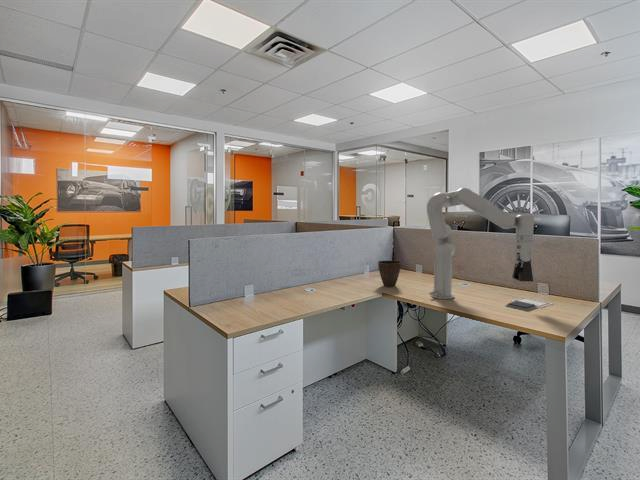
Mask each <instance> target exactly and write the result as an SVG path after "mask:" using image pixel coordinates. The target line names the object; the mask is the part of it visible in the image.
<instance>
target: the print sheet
mask: <svg viewBox="0 0 640 480" xmlns="http://www.w3.org/2000/svg"><path fill="white" fill-rule="evenodd" d="M515 301H521V302H525V303H530V304H535V305H536V306H537V309H538V308H539V309H543V308H545V307H548V306H551V305H553V303H552V302H548V301H542V300H537V299H533V298H532V299H531V298H527V297H519V298H517V299H512V300H510V303H511V302H515Z"/></svg>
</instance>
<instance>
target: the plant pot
mask: <svg viewBox="0 0 640 480" xmlns="http://www.w3.org/2000/svg"><path fill="white" fill-rule="evenodd" d="M377 264H378V270H379V276H380V278H381V281H382V285H383V286H384V287H387V288H394V287H396V284H397V282H398V278H399V275H400V271H401V264H402V262H401V261H398V260H379V261H378V262H377Z"/></svg>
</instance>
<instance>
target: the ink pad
mask: <svg viewBox="0 0 640 480" xmlns="http://www.w3.org/2000/svg"><path fill="white" fill-rule="evenodd" d="M506 307H507V308H508V307H509V308H513V309H517V310H521V311H525V312H529V311H531V310H534V309H538V307H537V306H536V305H535V304H530V303H525V302H521V301H515V302H511V301H510V302H509V303H507V304H506Z"/></svg>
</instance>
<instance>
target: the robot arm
mask: <svg viewBox="0 0 640 480" xmlns="http://www.w3.org/2000/svg"><path fill="white" fill-rule="evenodd" d="M461 205H463V206H464V207H466V208H468V209H470V210H471V211H473V212H474V213H476V214H478V215H479V216H481V217H483V219H486V220H487V221H490V222H491V223H493V224H494V225H496V226H498V228H501V229H504V230H509V229H513V228H515V249H514V265H515V264H516V275H518V274H519V271H520V272H522V274H523V262H528V261H530V259H531V262H532V261H534V243H533V242H534V226H535V216H534V214H531V213H530V214H525V213H524V214H512V213H511V214H510V213H508V212H506V211H504V210H502V209H501V208H499V207H497V206H496V205H494V204H493V203H492V202H491V201H490V200H488V199H487V198H485V197H483V196H481V195H480V194H478V193H476V192H474V191H473V190H471V189H470V188H467V187H461V188H458V189H457V190H455V191H449V192H442V191H440V192H437V193H435V194H433V195H432V196H431V197H430V198H429V199H428V201H427V204H426V213H427V214H426V215H427V218H428V219H427V220H428V223H429V227H430V228H429V229H430V233H431V236H432V238H433V239H434V240H436V242H437V244H436V246H435V247H434V248H433V260H434V261H433V262H434V266H433V267H434V269H433V271H434V273H433V276H434V277H433V289H432V290H431V291H429V292H428V294H429V295H430V296H431V297H432V298H436V299H439V300H451V299H452V300H453V299H454V298H455V295H454V293H452V288H453V287H452V284H453V280H452V279H453V262H452V261H453V259H452V258H453V257H452V256H454V254H455V253H456V243H455V239H454V235H453V234H454V232H453V230H452V228H451V226H450V225H449V224H447V223H446V220H445V215H444V212H443V208H450V207H456V206H461ZM519 260H522V261H519ZM520 262H521V264H520Z"/></svg>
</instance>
